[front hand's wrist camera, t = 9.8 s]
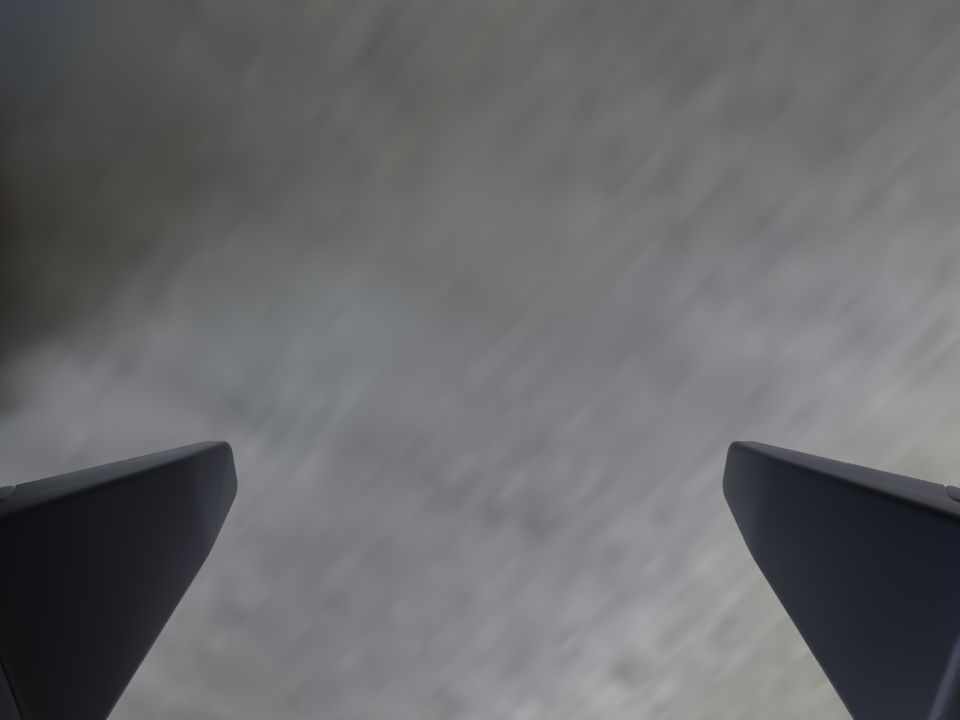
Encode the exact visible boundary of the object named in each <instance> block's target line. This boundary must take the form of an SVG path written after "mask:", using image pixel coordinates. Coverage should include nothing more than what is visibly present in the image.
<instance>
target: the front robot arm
mask: <svg viewBox="0 0 960 720" xmlns="http://www.w3.org/2000/svg"><path fill="white" fill-rule="evenodd" d="M236 492H237V478H236V472H235V466H234V460H233V454H232V449H231V446H230V445H229V443H227V442H225V441H213V442H202V443H197V444H193V445H189V446H184V447H180V448H176V449H171V450H167V451H163V452H158V453H154V454H150V455H145V456H141V457H137V458H132V459H128V460H124V461H119V462H115V463H111V464H106V465H102V466H97V467H93V468H89V469H84V470H80V471H76V472H71V473H67V474H63V475H58V476H54V477H50V478H45V479H41V480H37V481H32V482H28V483H24V484H19V485H16V486H15V488H14V487H13V486H7V487H3V488H0V720H106V719H107V718H108V716H109V714H110V713H111V711H112V710H113V708H114V706H115V705H116V703H117V702H118V700H119V698H120V697H121V695H122V693H123V692H124V690H125V689H126V687H127V685H128V684H129V682H130V681H131V679H132V677H133V676H134V674H135V673H136V671H137V669H138V668H139V666H140V665H141V663H142V661H143V660H144V658H145V657H146V655H147V653H148V652H149V650H150V649H151V647H152V645H153V644H154V642H155V640H156V639H157V637H158V636H159V634H160V632H161V631H162V629H163V628H164V626H165V624H166V623H167V621H168V620H169V618H170V616H171V615H172V613H173V612H174V610H175V608H176V607H177V605H178V604H179V602H180V600H181V599H182V597H183V595H184V594H185V592H186V591H187V589H188V587H189V586H190V584H191V583H192V581H193V579H194V578H195V576H196V575H197V573H198V571H199V570H200V568H201V567H202V565H203V563H204V562H205V560H206V558H207V556H208V555H209V553H210V551H211V549H212V547H213V545H214V543H215V541H216V538H217V536H218V534H219V532H220V530H221V527H222V525H223V523H224V521H225V518H226V516H227V514H228V512H229V510H230V507H231V505H232V503H233V501H234V499H235V496H236ZM723 492H724V496H725V499H726V501H727V503H728V505H729V507H730V510H731V512H732V514H733V516H734V518H735V521H736V523H737V525H738V527H739V530H740V532H741V534H742V536H743V538H744V541H745V543H746V545H747V547H748V549H749V551H750V553H751V555H752V556H753V558H754V560H755V562H756V563H757V565H758V567H759V568H760V570H761V571H762V573H763V575H764V576H765V578H766V579H767V581H768V583H769V584H770V586H771V587H772V589H773V591H774V592H775V594H776V595H777V597H778V599H779V600H780V602H781V603H782V605H783V607H784V608H785V610H786V611H787V613H788V615H789V616H790V618H791V620H792V621H793V623H794V624H795V626H796V628H797V629H798V631H799V632H800V634H801V636H802V637H803V639H804V640H805V642H806V644H807V645H808V647H809V648H810V650H811V652H812V653H813V655H814V656H815V658H816V660H817V661H818V663H819V665H820V666H821V668H822V669H823V671H824V673H825V674H826V676H827V677H828V679H829V681H830V682H831V684H832V685H833V687H834V689H835V690H836V692H837V693H838V695H839V697H840V698H841V700H842V702H843V703H844V705H845V706H846V708H847V710H848V711H849V713H850V714H851V716H852V718H853V719H854V720H960V488H957V487H953V486H947V487H946V488H945V486H944V485H941V484H937V483H932V482H928V481H923V480H919V479H915V478H910V477H906V476H902V475H897V474H893V473H889V472H884V471H880V470H876V469H871V468H867V467H863V466H858V465H854V464H850V463H845V462H841V461H837V460H832V459H828V458H824V457H819V456H815V455H810V454H806V453H802V452H797V451H793V450H789V449H784V448H780V447H776V446H771V445H767V444H763V443H758V442H747V441H735V442H733V443H731V445H730V446H729V449H728V454H727V460H726V466H725V472H724V478H723Z"/></svg>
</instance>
